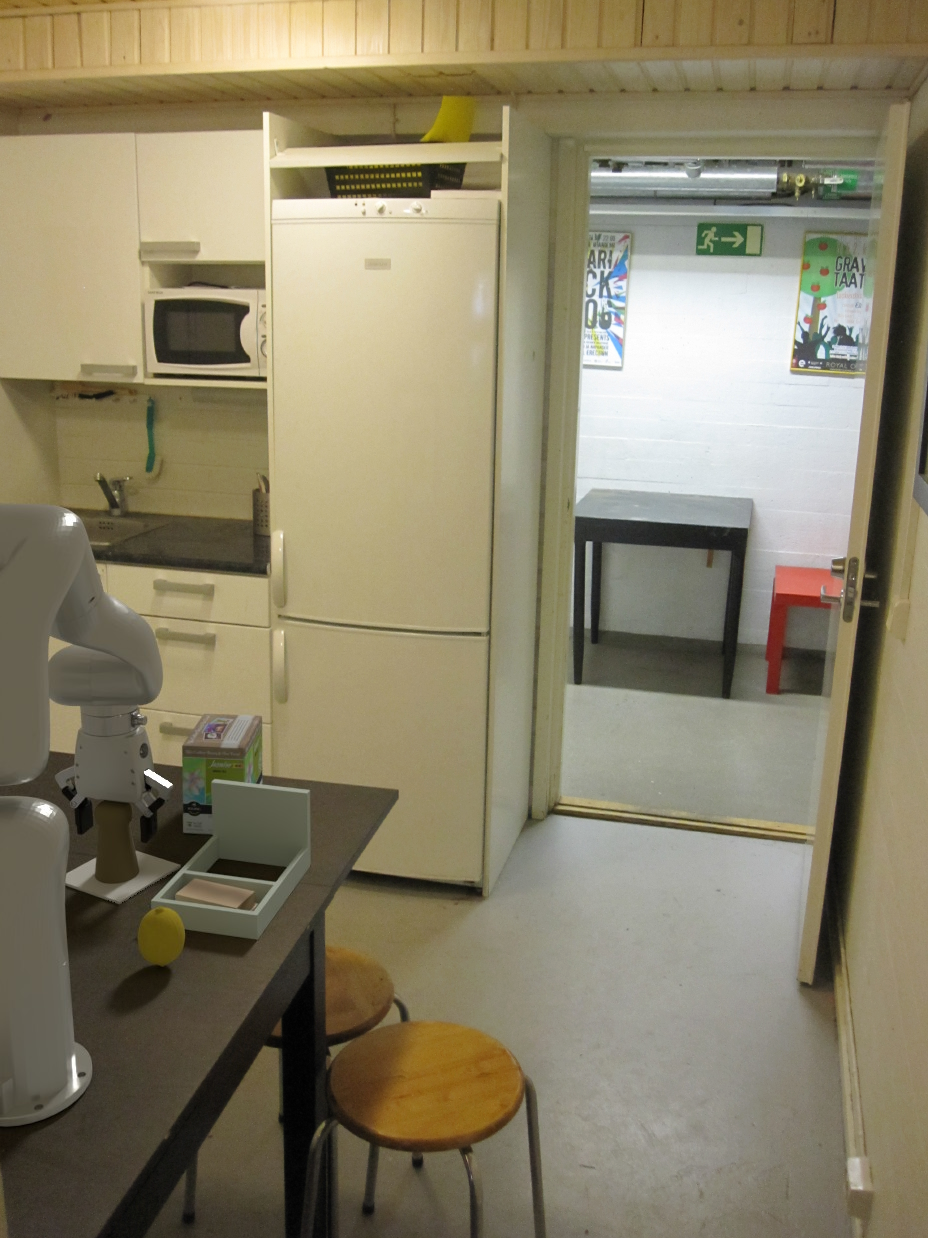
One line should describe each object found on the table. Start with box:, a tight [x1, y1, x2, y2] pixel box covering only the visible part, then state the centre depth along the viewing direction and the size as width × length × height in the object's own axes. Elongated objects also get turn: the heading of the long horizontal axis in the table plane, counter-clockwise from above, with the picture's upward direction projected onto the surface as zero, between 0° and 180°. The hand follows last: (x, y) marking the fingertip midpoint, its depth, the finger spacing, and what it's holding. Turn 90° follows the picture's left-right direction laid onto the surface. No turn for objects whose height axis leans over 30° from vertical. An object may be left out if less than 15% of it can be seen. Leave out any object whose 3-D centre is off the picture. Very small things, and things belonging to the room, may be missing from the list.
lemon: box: [137, 906, 186, 967], centre depth 130 cm, size 6×6×8 cm
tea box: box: [181, 713, 263, 835], centre depth 171 cm, size 15×10×15 cm
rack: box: [150, 779, 312, 940], centre depth 147 cm, size 20×15×12 cm
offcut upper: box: [175, 878, 255, 911], centre depth 142 cm, size 5×9×2 cm, turn 71°
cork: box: [93, 800, 139, 884], centre depth 151 cm, size 6×6×11 cm
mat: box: [65, 850, 182, 905], centre depth 153 cm, size 12×12×1 cm
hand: (117, 834), depth 151 cm, fingers open, 9 cm apart
